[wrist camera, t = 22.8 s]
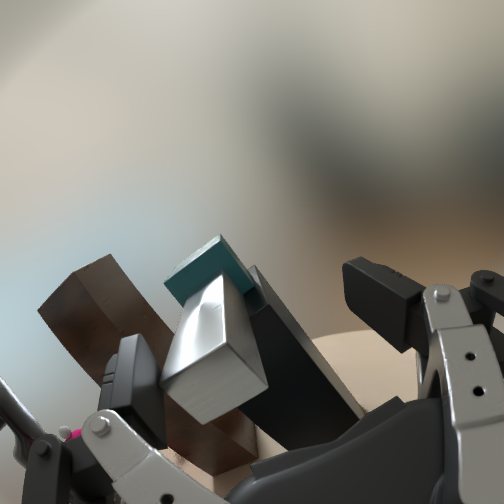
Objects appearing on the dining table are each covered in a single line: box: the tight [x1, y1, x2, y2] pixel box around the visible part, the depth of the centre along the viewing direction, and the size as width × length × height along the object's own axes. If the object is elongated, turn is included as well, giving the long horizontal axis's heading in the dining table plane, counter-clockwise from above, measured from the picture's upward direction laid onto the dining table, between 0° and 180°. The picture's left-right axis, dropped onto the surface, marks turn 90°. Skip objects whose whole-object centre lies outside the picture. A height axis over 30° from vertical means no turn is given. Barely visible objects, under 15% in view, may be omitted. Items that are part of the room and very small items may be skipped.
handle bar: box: [158, 234, 269, 425], centre depth 16 cm, size 5×16×4 cm, turn 5°
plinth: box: [37, 254, 258, 476], centre depth 32 cm, size 8×10×32 cm
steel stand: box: [236, 265, 365, 451], centre depth 23 cm, size 6×10×22 cm, turn 3°
